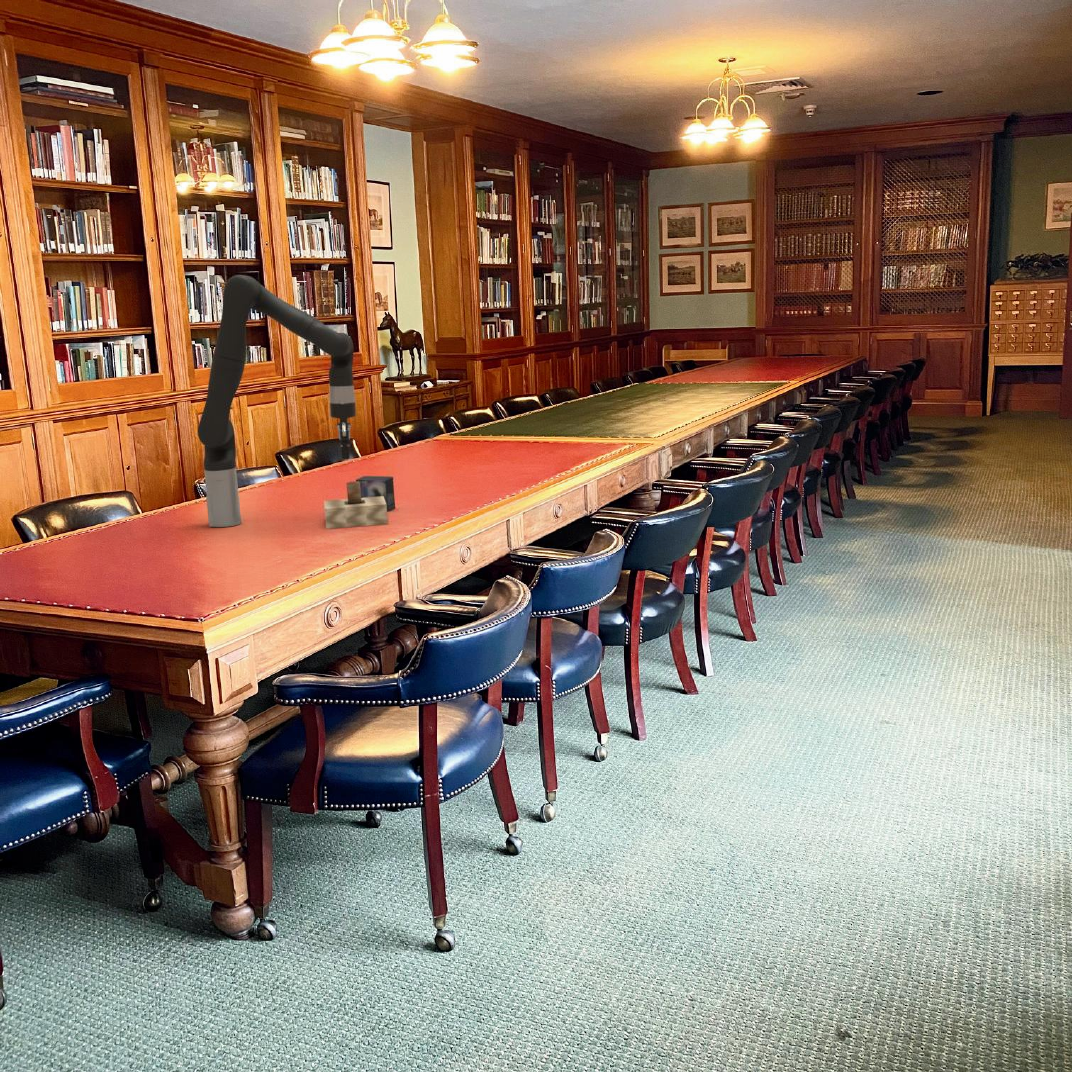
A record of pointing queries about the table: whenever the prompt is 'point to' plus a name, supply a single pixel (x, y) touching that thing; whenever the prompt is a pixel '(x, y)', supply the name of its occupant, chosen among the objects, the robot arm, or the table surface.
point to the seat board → (355, 513)
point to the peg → (354, 493)
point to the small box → (378, 489)
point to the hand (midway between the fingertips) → (345, 458)
